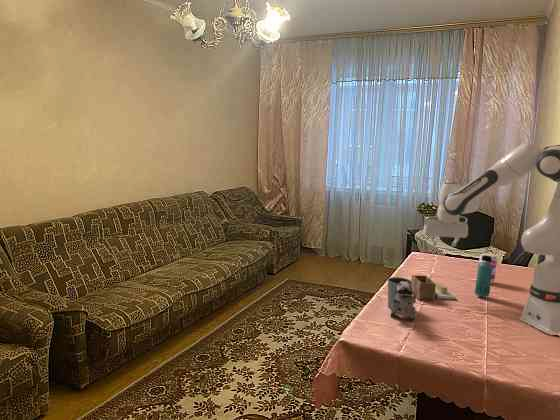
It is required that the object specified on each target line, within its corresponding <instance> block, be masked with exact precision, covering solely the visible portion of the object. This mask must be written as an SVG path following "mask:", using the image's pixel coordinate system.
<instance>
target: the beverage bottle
mask: <svg viewBox="0 0 560 420" xmlns="http://www.w3.org/2000/svg"><path fill="white" fill-rule="evenodd" d="M482 260H483V261H489V262H490V261H491V256H487V255H483V256H482ZM477 267H478V268H477V273H476V280H475V281H476V282H475V288H474V294H475V295H477V296H480V297H489V296H490V291H491V286H492V285H490V284H491V277H492V269H493V266H492V264H491V263H488V262H481V263H479V262H478V265H477Z"/></svg>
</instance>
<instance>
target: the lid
mask: <svg viewBox="0 0 560 420" xmlns="http://www.w3.org/2000/svg"><path fill="white" fill-rule="evenodd" d="M435 284H436V288H435V296H436V297H437V298H442V299H455V298H456V296H455V295H454V294H453V293H452V292H451V291H450V290H448V287H447V285H445V284H443V283H442V282H435Z"/></svg>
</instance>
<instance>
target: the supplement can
mask: <svg viewBox="0 0 560 420" xmlns="http://www.w3.org/2000/svg"><path fill="white" fill-rule="evenodd" d="M483 255H487V256H491V261H490V262H489V261H483V260H482V256H483ZM497 257H498V256H497V255H496V254H493V253H490V252H483V253H482V252H481V254H480V255H479V259H478V264H479V263H481V262H488V263H491V264H492V266H493V269H492V277H491V284H492V285H493V284H494V283H495V280H496V279H495V278H496V270H497V263H498V258H497ZM491 284H490V286H492V285H491Z"/></svg>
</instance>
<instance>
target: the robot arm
mask: <svg viewBox="0 0 560 420" xmlns="http://www.w3.org/2000/svg"><path fill="white" fill-rule="evenodd" d="M535 169H537V171H538V173H539V174H540V175H542V176H544V177H546V178H548V179H549V180H552V181H554V182H556V187H555V190H554V193H553V196H552V199H551V202H550V204H549V206H548V209H547V210H546V213H544V215H543V216H542V218H541V219H540V220H539V221H538V222H537V223H536V224H535V225H532V226H531V227H529V228H528V229H526V230H524V232H523V233H522V235H521V238H520V242H521V246H522V248H523V250H524V251H525V252H527V253H530V254H534V255H538V256H547V257H546V258H545V259H544V261H542V262H540V263H538V264H537V265H536V266H535V268H534V270H533V274H532V282H531V284H530V288H529V296H528V297H527V299H526V300H525V304H524V308H523V311H522V315H520V316H519V318H518V319H519V320H520V321H522V322H524V323H525V322H526V323H525V324H527V323H528V324H527V325H529V326H530V325H532V326H534V327H536V328H538V329H540V330H542V331H544V332H547V333H552V332H556V333H557V334H558V333H559V332H560V144H555V145H551V146H546V147H544V148H541V147H540V146H539V145H537V144H536V143H534V142H531V141H528V142H524V143H522V144H520V145H518V146H517V147H515V148H514V149H511V150H510V151H509V152H508V153H507V154H505V155H504V156H502V157H501V158H500V159H499V160H498V161H496V162H495V164H493V165H492V166H491V167H489V168H488V169H487V170H485V171H483V173H481V174H479V175H478V176H477V177H476V178H474V179H473V180H471V181H470V182H469V183H467V184H466V185H464V186H462V185H461V184H460V183H459V182H446V183H443V184H442V185H441V187H440V190H439V196H438V207H437V213H436V216H431V215H428V216H427V217H425V218H424V222H423V223H424V224H423V229H422V230H423V231H422V234H423V235H424V236H426V237H429V238H430V241H431V245H432V246H433V247H436V246H437V242H436V241H435V238H436V237H440V238H444V237H445V238H454V240H453V242H451V247H454V248H455V247H456V246H457V244H458V242H459V241H460V239H461V238H462V239H464V238H465V239H466V238H467V237H468V234H469V225H468V220H469V218H468V217H466V216H463V215H464V214H472V213H474V212H477V211H478V210H479V209H480V207H481V198H480V195H481V194H483V193H484V192H486V191H488V190H490V189H494V188H496V187H498V188H499V187H504V186H508V185H511V184H514V183H515V182H517V181H519V180H520V179H522V178H524V176H525V177H526V175H527V174H529V173H530V172H531V171H533V170H535ZM532 326H531V327H532ZM534 327H533V328H534ZM536 328H535V329H536ZM538 329H537V330H538ZM540 330H539V331H540ZM552 334H555V333H552Z"/></svg>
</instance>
